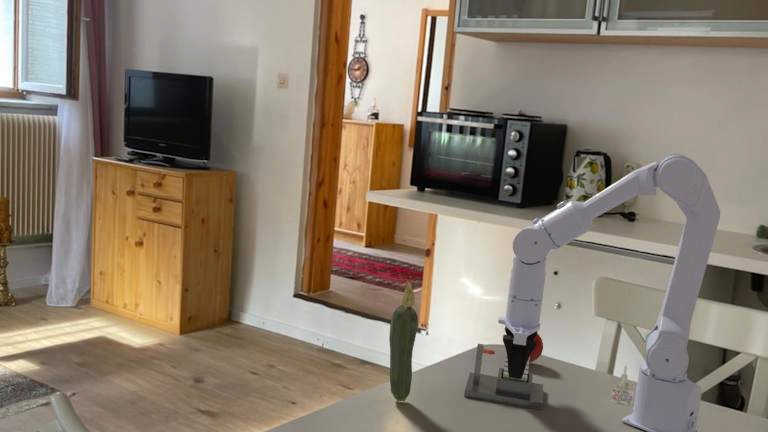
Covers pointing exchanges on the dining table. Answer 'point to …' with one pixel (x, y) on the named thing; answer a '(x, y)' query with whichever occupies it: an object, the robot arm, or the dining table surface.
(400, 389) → the vegetable
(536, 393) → the jack base
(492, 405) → the dining table surface
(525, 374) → the column
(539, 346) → the onion
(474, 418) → the dining table surface
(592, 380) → the dining table surface
